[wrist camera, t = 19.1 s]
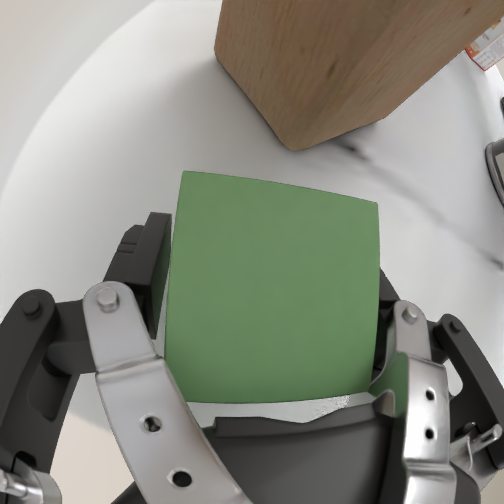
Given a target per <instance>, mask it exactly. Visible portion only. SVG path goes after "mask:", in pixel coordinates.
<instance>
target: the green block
mask: <svg viewBox="0 0 504 504" xmlns="http://www.w3.org/2000/svg"><path fill="white" fill-rule="evenodd" d="M379 277H380V245H379V217H378V204H377V203H376V202H372V201H367V200H363V199H359V198H354V197H350V196H345V195H340V194H336V193H331V192H326V191H321V190H316V189H310V188H305V187H300V186H294V185H288V184H282V183H276V182H270V181H264V180H257V179H250V178H243V177H236V176H228V175H220V174H212V173H203V172H193V171H183V173H182V178H181V184H180V191H179V197H178V204H177V211H176V218H175V225H174V233H173V242H172V250H171V260H170V270H169V281H168V294H167V308H166V325H165V351H164V360H165V362H166V364H167V366H168V368H169V370H170V372H171V374H172V376H173V378H174V380H175V382H176V384H177V386H178V388H179V390H180V392H181V394H182V395H183V397H184V399H185V401H186V402H201V403H233V404H245V403H277V402H292V401H304V400H314V399H323V398H331V397H338V396H345V395H351V394H357V393H363V392H368V390H369V388H370V383H371V376H372V369H373V361H374V353H375V344H376V333H377V321H378V305H379Z"/></svg>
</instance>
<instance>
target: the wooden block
mask: <svg viewBox="0 0 504 504" xmlns="http://www.w3.org/2000/svg"><path fill="white" fill-rule="evenodd" d="M503 16H504V0H223V2H222V7H221V12H220V17H219V23H218V28H217V34H216V40H215V46H214V50H215V55H216V57H217V60H218V61H219V62H220V63H221V65H222V66H223V67H224V68H225V69H226V71H227V72H228V73H229V74H230V75H231V77H232V78H233V79H234V80H235V81H236V83H237V84H238V85H239V86H240V88H241V89H242V90H243V91H244V93H245V94H246V95H247V97H248V98H249V99H250V100H251V102H252V103H253V104H254V106H255V107H256V108H257V109H258V111H259V112H260V113H261V115H262V116H263V117H264V119H265V120H266V122H267V123H268V124H269V126H270V127H271V128H272V130H273V131H274V132H275V134H276V135H277V137H278V138H279V139H280V141H281V142H282V144H283V145H284V146H285V147H287V148H288V149H289V150H291V151H298V150H304V149H307V148H310V147H312V146H314V145H317V144H319V143H322V142H324V141H326V140H329V139H331V138H334V137H336V136H339V135H341V134H344V133H346V132H349V131H351V130H354V129H357V128H359V127H362V126H365V125H367V124H370V123H373V122H375V121H378V120H381V119H384V118H386V117H387V116H388V115H389V114H390V113H391V112H392V111H394V110H395V109H396V108H397V107H398V106H399V105H400V104H401V103H403V102H404V101H405V100H406V99H407V98H408V97H409V96H411V95H412V94H413V93H414V92H415V91H416V90H417V89H419V88H420V87H421V86H422V85H423V84H424V83H426V82H427V81H428V80H429V79H430V78H431V77H432V76H434V75H435V74H436V73H437V72H438V71H439V70H441V69H442V68H443V67H444V66H445V65H446V64H448V63H449V62H450V61H451V60H452V59H453V58H455V57H456V56H457V55H458V54H459V53H460V52H462V51H463V50H464V49H465V48H466V47H467V46H469V45H470V44H471V43H472V42H473V41H474V40H476V39H477V38H478V37H479V36H480V35H482V34H483V33H484V32H485V31H486V30H488V29H489V28H490V27H491V26H492V25H494V24H495V23H496V22H497V21H498V20H500V19H501V18H502V17H503Z"/></svg>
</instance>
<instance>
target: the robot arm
mask: <svg viewBox="0 0 504 504" xmlns="http://www.w3.org/2000/svg"><path fill="white" fill-rule="evenodd" d="M501 103H502V109H503V112H504V97H503V98H502V100H501ZM486 156H487V162H488V167H489V170H490V174H491V177H492V180H493V183H494V185H495V188H496V190H497V193H498V195H499V197H500V199H501V201H502V203H503V205H504V138H502V139H500V140H498V141H496V142H493V143H491V144H489V145H488V146H487V148H486ZM171 224H172V215H171V214H167V213H156V212H151V213H150V215H149V217H148V219H147V221H146V224H145V226H143V225H134V226H133V227H131V228H130V229H129V230H128V231H126V232H125V234H124V236H123V238H122V240H121V243H120V244H119V246H118V248H117V252H116V253H115V255H114V257H113V259H112V261H111V264H110V266H109V268H108V270H107V273H106V275H105V277H104V280H103V282H101V283H98V284H96V285H94V286H93V287H91V288H90V289H89V290H88V291H87V292H86V294H85V295H84V298H83V299H81V300H77V301H69V302H61V303H55V301H54V298H53V297H52V295H51V294H50V293H49V292H47V291H45V290H42V289H34V290H30V291H28V292H26V293H24V294H22V295H21V296H20V297H19V298H18V299H17V300H16V301H15V303H14V304H13V306H12V307H11V309H10V310H9V312H8V313H7V315H6V316H5V318H4V320H3V321H2V323H1V324H0V504H62V495H61V492H60V489H59V487H58V486H57V484H56V482H55V481H54V479H53V478H52V477H51V476H50V475H49V474H50V469H51V465H52V461H53V457H54V452H55V449H56V446H57V442H58V438H59V435H60V431H61V428H62V425H63V422H64V419H65V416H66V413H67V410H68V407H69V404H70V401H71V398H72V395H73V392H74V390H75V387H76V384H77V382H78V379H79V376H80V374H85V373H93V372H97V373H95V379H96V383H97V387H98V391H99V394H100V397H101V400H102V403H103V406H104V409H105V412H106V415H107V418H108V421H109V423H110V426H111V429H112V431H113V434H114V436H115V439H116V441H117V443H118V446H119V448H120V451H121V453H122V455H123V457H124V460H125V462H126V463H127V466H128V468H129V470H130V472H131V474H132V476H133V478H134V480H135V481H134V482H133V483H132V484H131V485H130V486H129V487H128V488H127V489H126V490H125V491H124V492H123V493H122V494H121V495H120V496H119V497H117V498H116V499H115V500H114V501H113V502H112V503H111V504H481V495H480V492H481V491H482V490H483V489H484V488H485V487H486V485H487V484H488V483H489V482H490V480H491V479H492V478H493V477H494V476H495V474H496V473H497V472H498V471H500V470H502V469H503V468H504V389H503V387H502V385H501V383H500V381H499V380H498V378H497V376H496V374H495V373H494V371H493V369H492V368H491V366H490V364H489V363H488V361H487V360H486V358H485V356H484V355H483V353H482V352H481V350H480V348H479V347H478V345H477V344H476V342H475V341H474V339H473V338H472V336H471V335H470V334H469V332H468V331H467V329H466V328H465V326H464V325H463V324H462V322H461V321H460V320H459V319H458V318H456V317H455V316H453V315H451V314H444V315H443V316H442V317H441V319H440V320H439V321H438V322H437V323H435V322H431V321H428V320H426V318H425V315H424V314H423V312H422V311H421V310H420V309H419V308H418V307H417V306H416V305H415V304H413V303H411V302H409V301H406V300H400V298H399V296H398V295H397V293H396V291H395V290H394V288H393V287H392V285H391V283H390V282H389V280H388V279H387V277H385V274H384V272H383V271H382V270H381V268H380V277H379V305H378V321H377V333H376V344H375V353H374V361H373V369H372V376H371V383H370V388H369V390H368V392H363V393H357V394H351V397H350V399H349V402H348V403H347V405H346V406H345V408H340V409H338V410H336V411H333V412H331V413H329V414H327V415H324V416H322V417H320V418H317V419H315V420H312V421H310V422H307V423H296V422H289V421H282V420H276V419H270V418H265V417H215V420H214V423H213V426H210V427H205V428H200V426H199V424H198V423H197V421H196V419H195V417H194V416H193V414H192V412H191V410H190V408H189V407H188V405H187V403H186V401H185V399H184V397H183V395H182V394H181V392H180V390H179V388H178V386H177V384H176V382H175V380H174V378H173V376H172V374H171V372H170V370H169V368H168V366H167V364H166V362H165V360H164V359H163V357H162V356H159V355H158V354H157V352H156V350H155V347H154V345H153V343H152V340H151V339H154V340H156V336H157V329H158V323H159V317H160V311H161V305H162V300H163V294H164V289H165V284H166V279H167V274H168V269H169V263H170V253H171ZM448 358H449V359H450V361H451V363H452V364H453V366H454V368H455V369H456V371H457V373H458V374H459V376H460V378H461V380H462V382H463V388H462V390H461V392H460V393H459V394H458V395H456V396H452V395H451V394H450V392H449V390H448V381H447V372H446V368H445V366H444V365H443V363H444V362H445V361H446V360H447V359H448ZM472 422H473V424H472Z"/></svg>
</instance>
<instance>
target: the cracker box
mask: <svg viewBox="0 0 504 504" xmlns="http://www.w3.org/2000/svg"><path fill="white" fill-rule="evenodd" d="M465 49H466V51H467V53H468V54H469V56H470V58H471V59H472V60H473V61H474V62H475V63H477V64H478V65H479V66H480V67H481V68H482V69H483V70H484V71H486V70H488V69H489V68H490V67H492V66H493V65H494V64H495V63H497V62H498V61H499V60H501V59H502V58H504V16H503V17H502V18H501V19H500V20H498V21H497V22H496V23H495V24H494V25H492V26H491V27H490V28H489V29H488V30H486V31H485V32H484V33H483V34H482V35H480V36H479V37H478V38H477V39H476V40H474V41H473V42H472V43H471V44H470V45H469V46H467V47H466V48H465Z"/></svg>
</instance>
